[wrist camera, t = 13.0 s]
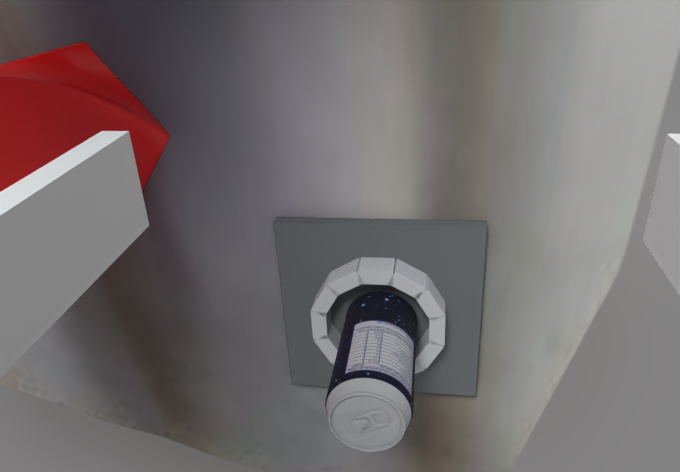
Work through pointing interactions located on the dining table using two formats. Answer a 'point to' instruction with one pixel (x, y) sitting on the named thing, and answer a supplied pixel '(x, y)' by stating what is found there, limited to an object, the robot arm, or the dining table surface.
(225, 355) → the dining table surface
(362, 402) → the beverage can
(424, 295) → the ring seat
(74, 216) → the robot arm
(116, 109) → the vase
